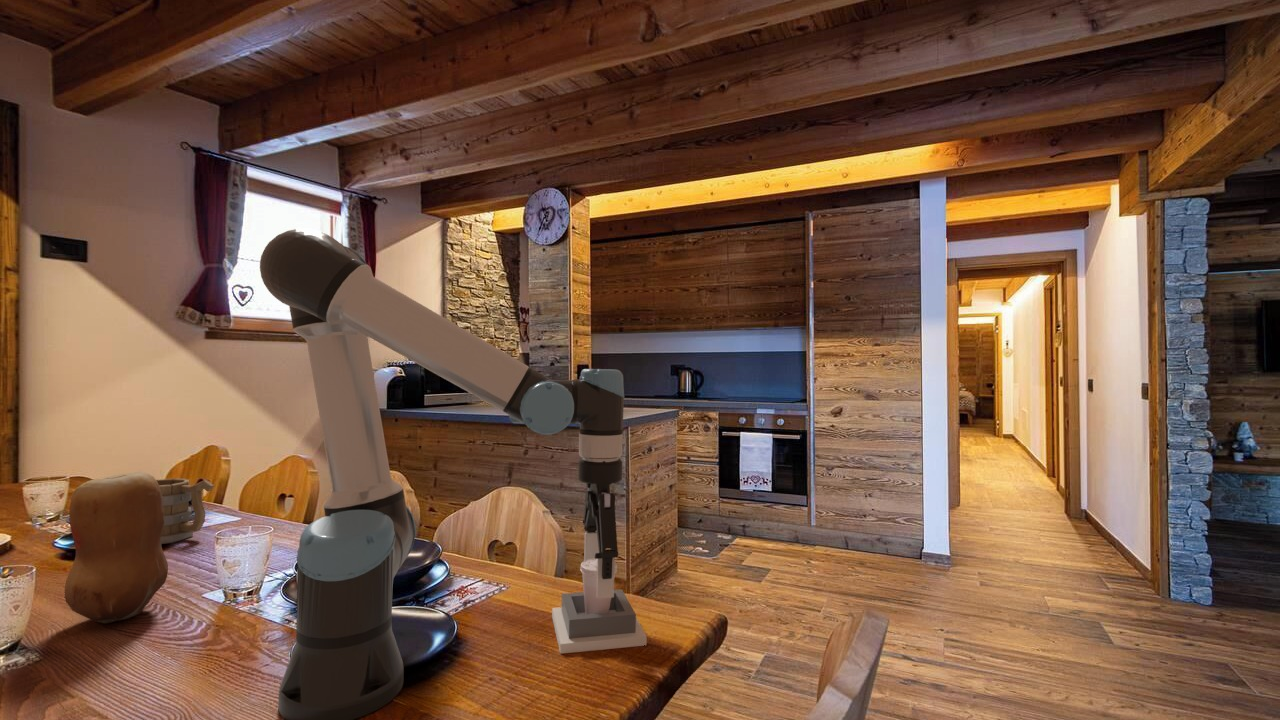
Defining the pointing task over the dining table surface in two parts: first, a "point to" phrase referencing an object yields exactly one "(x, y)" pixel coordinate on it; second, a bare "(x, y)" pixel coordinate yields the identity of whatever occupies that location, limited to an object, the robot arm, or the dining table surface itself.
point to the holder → (596, 625)
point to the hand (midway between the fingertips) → (597, 582)
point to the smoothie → (593, 588)
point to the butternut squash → (116, 547)
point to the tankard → (181, 508)
